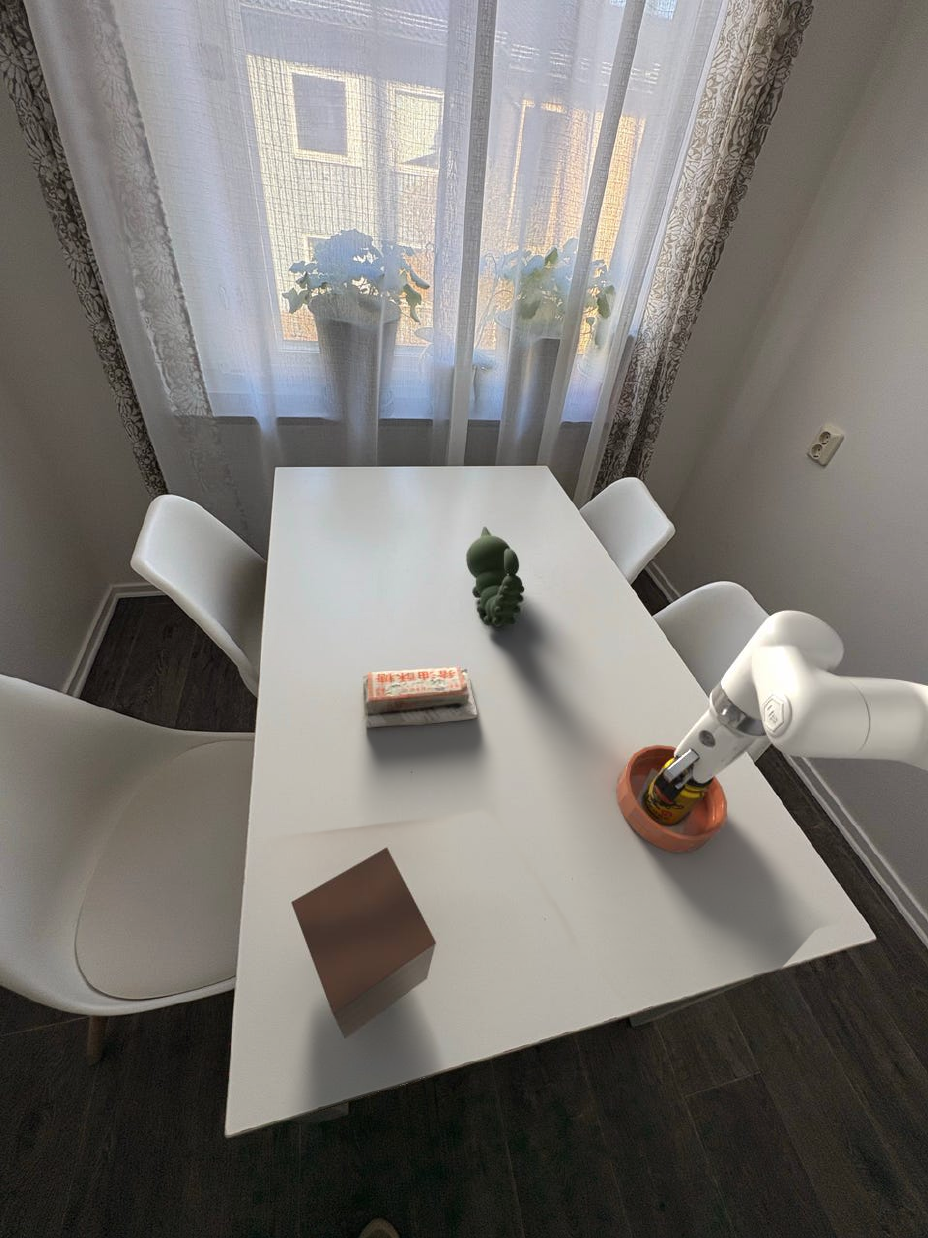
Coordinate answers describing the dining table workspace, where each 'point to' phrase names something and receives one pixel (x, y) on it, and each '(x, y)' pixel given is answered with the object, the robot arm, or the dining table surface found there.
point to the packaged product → (417, 697)
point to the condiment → (665, 810)
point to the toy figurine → (495, 579)
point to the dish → (696, 833)
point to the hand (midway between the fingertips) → (686, 775)
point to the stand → (365, 939)
